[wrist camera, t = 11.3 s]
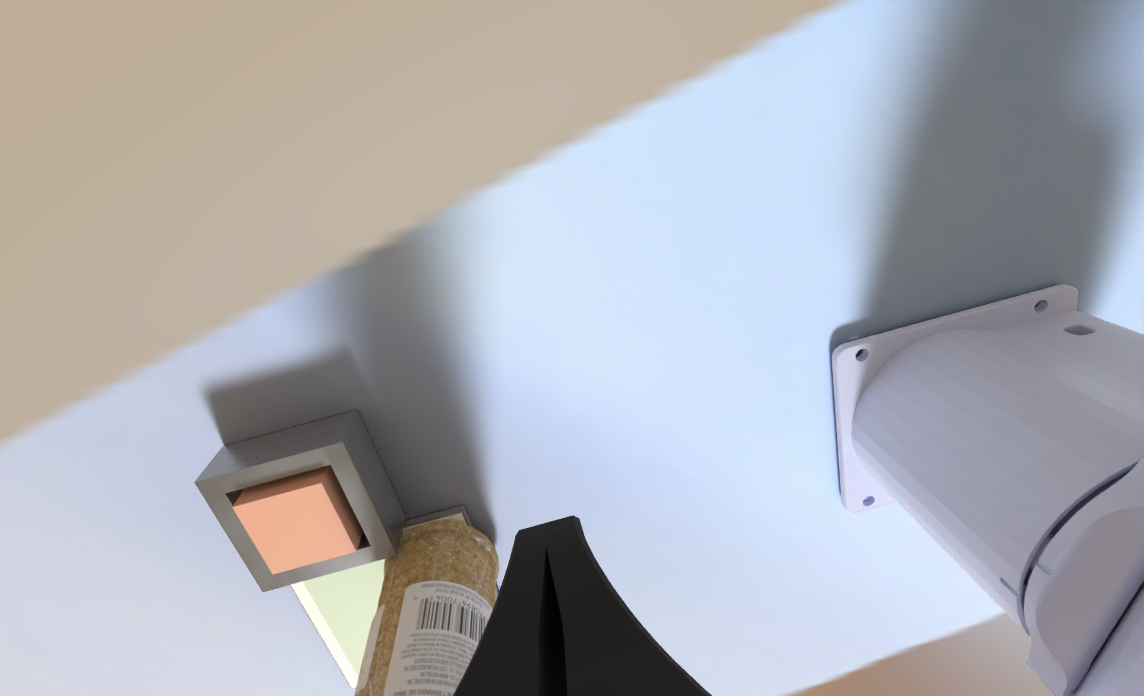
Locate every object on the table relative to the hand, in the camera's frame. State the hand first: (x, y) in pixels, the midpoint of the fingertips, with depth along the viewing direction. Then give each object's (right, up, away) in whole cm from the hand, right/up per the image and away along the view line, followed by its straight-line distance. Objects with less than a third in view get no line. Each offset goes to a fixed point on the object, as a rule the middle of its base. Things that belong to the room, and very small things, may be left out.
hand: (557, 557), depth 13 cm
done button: (-9, -1, +9) cm, 13 cm away
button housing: (-9, -1, +9) cm, 13 cm away
